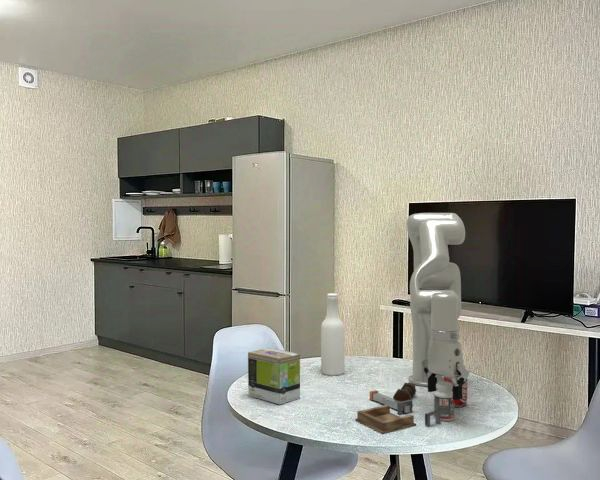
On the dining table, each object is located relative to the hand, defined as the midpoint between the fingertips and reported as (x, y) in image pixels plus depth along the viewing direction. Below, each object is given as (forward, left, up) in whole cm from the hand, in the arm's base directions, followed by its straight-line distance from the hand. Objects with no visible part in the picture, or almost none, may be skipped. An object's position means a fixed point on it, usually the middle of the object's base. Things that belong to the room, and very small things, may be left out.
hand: (444, 395), depth 161 cm
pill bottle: (0, -1, -7) cm, 7 cm away
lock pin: (+6, -17, -7) cm, 19 cm away
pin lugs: (+6, -4, -7) cm, 10 cm away
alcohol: (-1, -59, -7) cm, 59 cm away
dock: (+17, -7, -7) cm, 19 cm away
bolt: (-3, -20, -7) cm, 21 cm away
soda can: (-12, -8, -7) cm, 16 cm away
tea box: (+32, -45, -7) cm, 55 cm away
